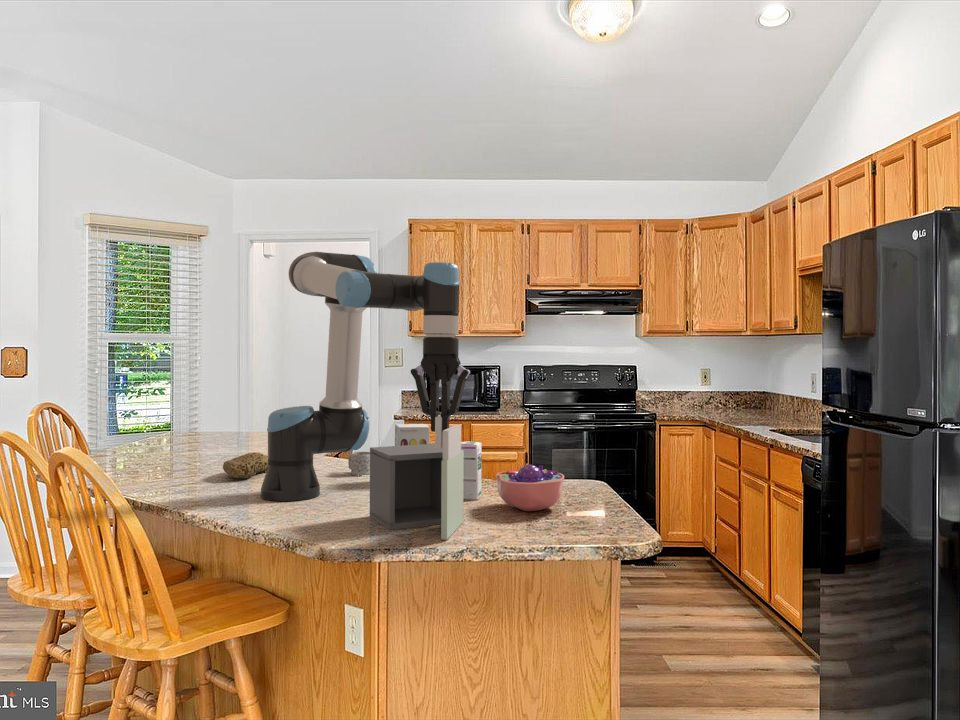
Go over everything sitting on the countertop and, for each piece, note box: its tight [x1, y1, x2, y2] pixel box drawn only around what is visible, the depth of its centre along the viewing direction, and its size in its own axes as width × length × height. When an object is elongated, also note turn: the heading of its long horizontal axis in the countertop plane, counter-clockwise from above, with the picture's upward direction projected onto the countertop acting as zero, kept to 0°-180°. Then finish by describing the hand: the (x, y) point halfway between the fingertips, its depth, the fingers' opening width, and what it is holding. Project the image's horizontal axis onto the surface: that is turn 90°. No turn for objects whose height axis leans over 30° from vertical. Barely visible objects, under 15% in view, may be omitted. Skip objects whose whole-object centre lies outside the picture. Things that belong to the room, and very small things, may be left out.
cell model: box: [495, 464, 565, 512], centre depth 172 cm, size 17×20×11 cm
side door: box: [440, 424, 464, 541], centre depth 150 cm, size 1×16×22 cm, turn 169°
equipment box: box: [369, 443, 443, 531], centre depth 160 cm, size 14×16×16 cm
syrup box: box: [461, 440, 483, 501], centre depth 185 cm, size 6×6×14 cm
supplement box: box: [394, 423, 431, 446], centre depth 206 cm, size 10×9×17 cm
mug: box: [347, 451, 370, 477], centre depth 220 cm, size 10×7×7 cm, turn 46°
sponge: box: [222, 452, 268, 480], centre depth 215 cm, size 13×8×20 cm
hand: (439, 447), depth 149 cm, fingers closed
